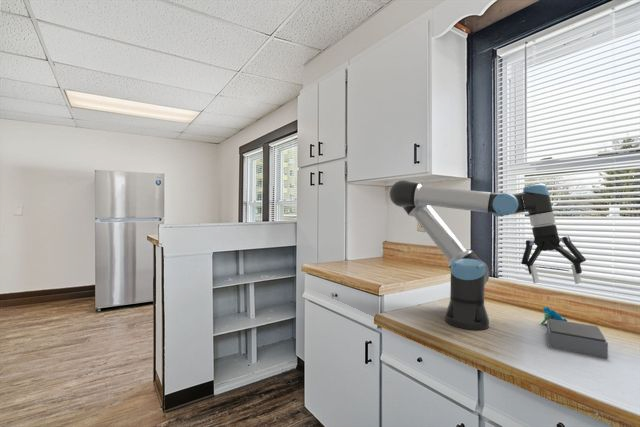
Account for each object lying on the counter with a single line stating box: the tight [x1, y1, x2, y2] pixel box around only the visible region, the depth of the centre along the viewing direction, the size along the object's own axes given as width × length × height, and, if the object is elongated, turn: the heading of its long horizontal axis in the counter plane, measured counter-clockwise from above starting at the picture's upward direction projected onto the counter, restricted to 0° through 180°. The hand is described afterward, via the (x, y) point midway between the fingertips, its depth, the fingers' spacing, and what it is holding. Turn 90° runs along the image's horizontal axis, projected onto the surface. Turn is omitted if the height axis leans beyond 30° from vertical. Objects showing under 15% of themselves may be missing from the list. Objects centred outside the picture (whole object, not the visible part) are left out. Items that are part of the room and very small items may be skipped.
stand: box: [546, 319, 609, 359], centre depth 104 cm, size 14×15×5 cm
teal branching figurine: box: [540, 306, 568, 328], centre depth 119 cm, size 11×6×10 cm
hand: (556, 282), depth 119 cm, fingers open, 13 cm apart
